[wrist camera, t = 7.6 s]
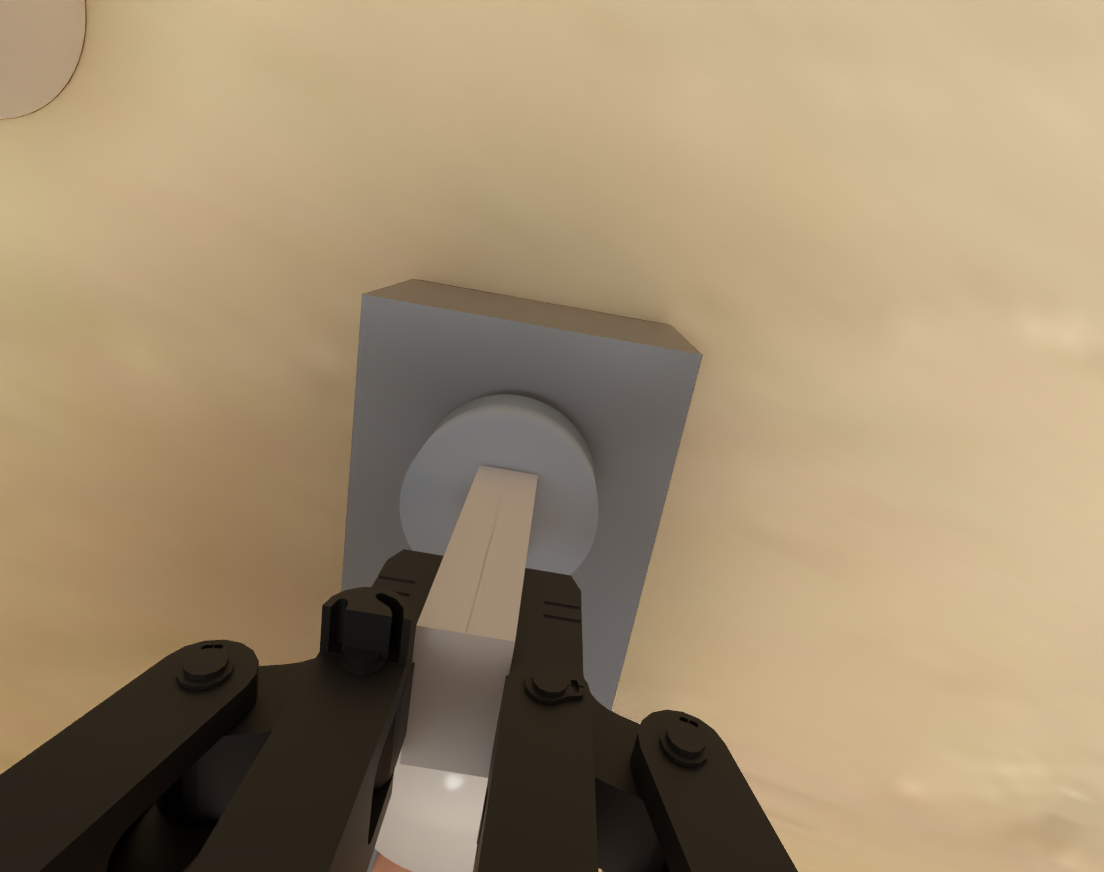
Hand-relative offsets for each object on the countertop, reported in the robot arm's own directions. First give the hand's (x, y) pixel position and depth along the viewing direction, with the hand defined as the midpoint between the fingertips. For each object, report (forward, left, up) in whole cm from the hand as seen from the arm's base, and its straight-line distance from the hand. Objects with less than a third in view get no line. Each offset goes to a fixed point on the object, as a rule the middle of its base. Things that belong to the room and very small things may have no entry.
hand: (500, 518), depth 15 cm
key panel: (0, -8, -10) cm, 13 cm away
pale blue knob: (0, 0, -8) cm, 8 cm away
